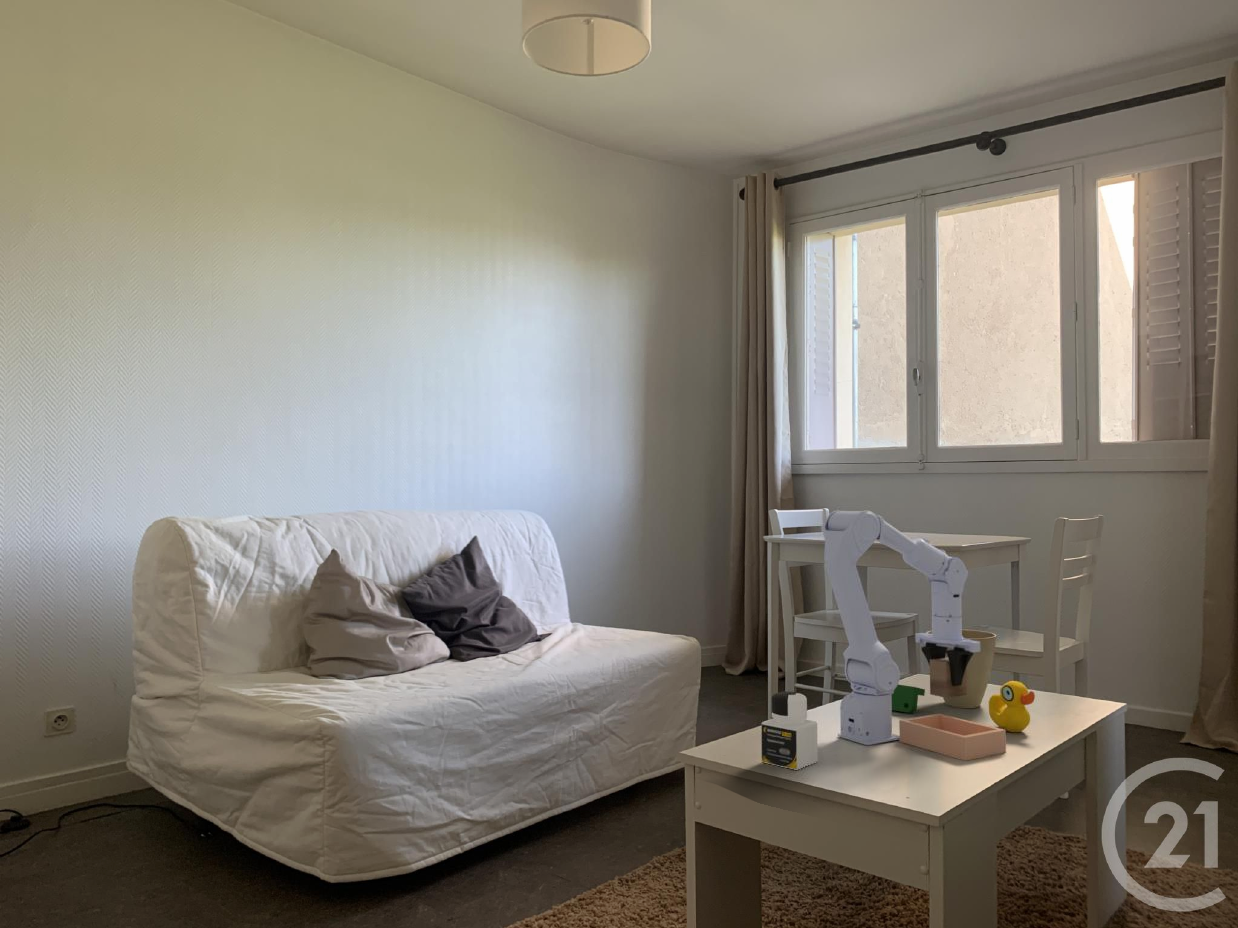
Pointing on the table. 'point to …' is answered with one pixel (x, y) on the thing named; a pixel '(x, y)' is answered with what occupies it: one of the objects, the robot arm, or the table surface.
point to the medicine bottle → (789, 733)
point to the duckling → (1011, 706)
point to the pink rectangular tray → (953, 736)
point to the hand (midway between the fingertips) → (947, 683)
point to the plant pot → (975, 670)
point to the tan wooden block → (944, 679)
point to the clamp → (906, 698)
